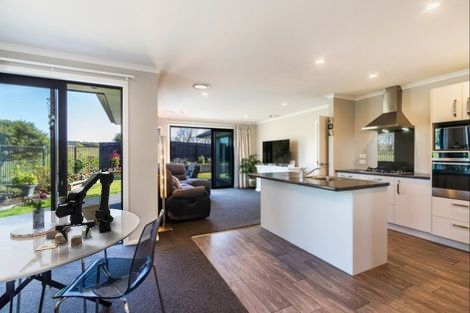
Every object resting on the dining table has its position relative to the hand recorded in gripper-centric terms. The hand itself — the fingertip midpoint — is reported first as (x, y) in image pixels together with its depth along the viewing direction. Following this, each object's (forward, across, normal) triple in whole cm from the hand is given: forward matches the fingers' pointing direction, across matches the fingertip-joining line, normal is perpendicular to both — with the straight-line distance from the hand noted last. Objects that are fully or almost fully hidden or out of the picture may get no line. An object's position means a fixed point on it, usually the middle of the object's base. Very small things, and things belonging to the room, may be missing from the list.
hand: (76, 239), depth 131 cm
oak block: (+3, +9, -8) cm, 12 cm away
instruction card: (+3, +14, -2) cm, 14 cm away
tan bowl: (+3, -5, -40) cm, 40 cm away
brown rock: (+3, +14, -25) cm, 29 cm away
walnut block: (+3, 0, 0) cm, 3 cm away
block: (+3, -3, -12) cm, 13 cm away
